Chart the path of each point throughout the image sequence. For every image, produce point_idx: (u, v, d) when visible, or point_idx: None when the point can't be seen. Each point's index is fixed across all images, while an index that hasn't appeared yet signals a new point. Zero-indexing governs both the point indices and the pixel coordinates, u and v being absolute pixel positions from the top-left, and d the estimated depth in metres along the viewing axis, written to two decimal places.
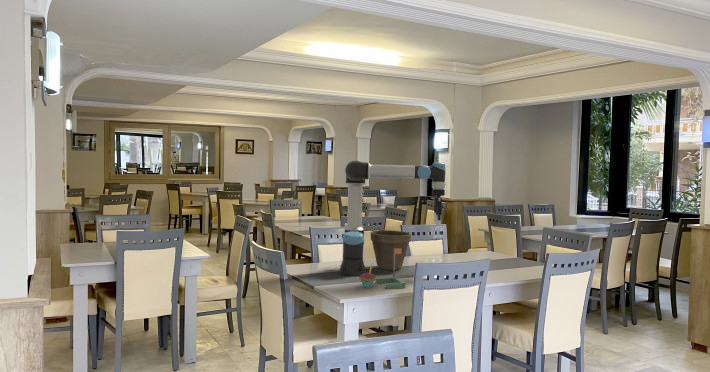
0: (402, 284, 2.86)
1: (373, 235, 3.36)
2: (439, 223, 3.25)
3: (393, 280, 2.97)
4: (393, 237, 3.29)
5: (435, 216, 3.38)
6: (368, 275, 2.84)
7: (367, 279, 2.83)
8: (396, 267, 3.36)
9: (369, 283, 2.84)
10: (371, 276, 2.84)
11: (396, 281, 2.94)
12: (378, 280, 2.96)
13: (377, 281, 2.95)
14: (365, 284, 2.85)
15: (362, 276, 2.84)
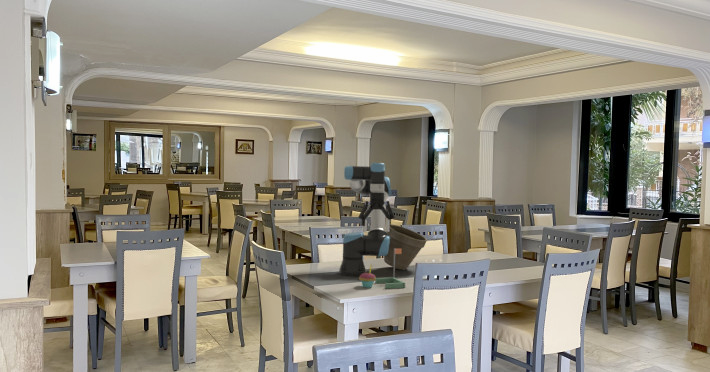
0: (402, 284, 2.86)
1: (398, 234, 3.26)
2: (364, 229, 2.94)
3: (393, 280, 2.97)
4: (419, 242, 3.27)
5: (386, 223, 3.01)
6: (368, 275, 2.84)
7: (367, 279, 2.83)
8: (406, 267, 3.36)
9: (369, 283, 2.84)
10: (371, 276, 2.84)
11: (396, 281, 2.94)
12: (378, 280, 2.96)
13: (377, 281, 2.95)
14: (365, 284, 2.85)
15: (362, 276, 2.84)
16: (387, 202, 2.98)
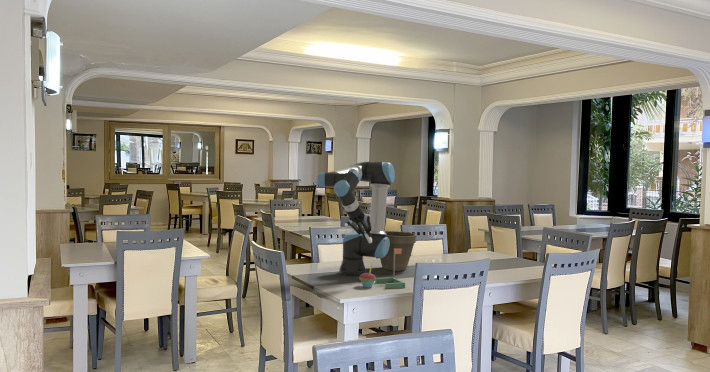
0: (402, 284, 2.86)
1: None
2: None
3: (393, 280, 2.97)
4: (409, 237, 3.29)
5: None
6: (368, 275, 2.84)
7: (367, 279, 2.83)
8: (405, 267, 3.36)
9: (369, 283, 2.84)
10: (371, 276, 2.84)
11: (396, 281, 2.94)
12: (378, 280, 2.96)
13: (377, 281, 2.95)
14: (365, 284, 2.85)
15: (362, 276, 2.84)
16: (367, 217, 2.83)
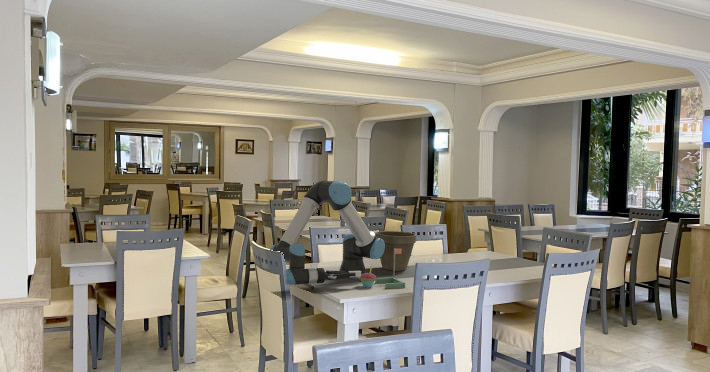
0: (402, 284, 2.86)
1: (387, 237, 3.28)
2: None
3: (393, 280, 2.97)
4: (409, 237, 3.29)
5: None
6: (368, 275, 2.84)
7: (367, 279, 2.83)
8: (405, 267, 3.36)
9: (369, 283, 2.84)
10: (371, 276, 2.84)
11: (396, 281, 2.94)
12: (378, 280, 2.96)
13: (377, 281, 2.95)
14: (365, 284, 2.85)
15: (362, 276, 2.84)
16: (333, 279, 2.75)
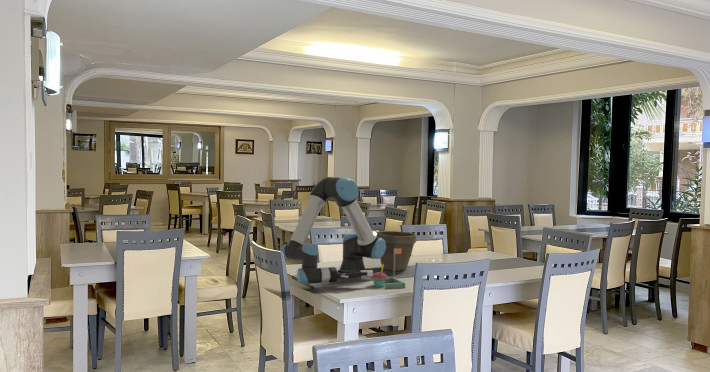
0: (402, 284, 2.86)
1: (387, 237, 3.28)
2: None
3: (393, 280, 2.97)
4: (409, 238, 3.29)
5: None
6: (380, 274, 2.86)
7: (379, 278, 2.85)
8: (405, 267, 3.36)
9: (381, 282, 2.86)
10: (383, 275, 2.86)
11: (396, 281, 2.94)
12: None
13: None
14: (377, 283, 2.87)
15: (374, 275, 2.87)
16: (345, 278, 2.77)
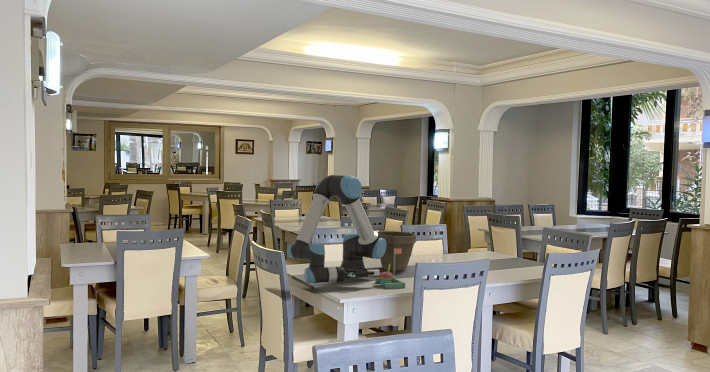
0: (402, 284, 2.86)
1: (387, 237, 3.28)
2: None
3: (393, 280, 2.97)
4: (409, 237, 3.29)
5: None
6: (386, 274, 2.88)
7: (385, 278, 2.86)
8: (405, 267, 3.36)
9: (387, 282, 2.88)
10: (389, 275, 2.88)
11: (396, 281, 2.94)
12: (378, 280, 2.96)
13: (377, 281, 2.95)
14: (383, 283, 2.88)
15: (381, 275, 2.88)
16: None
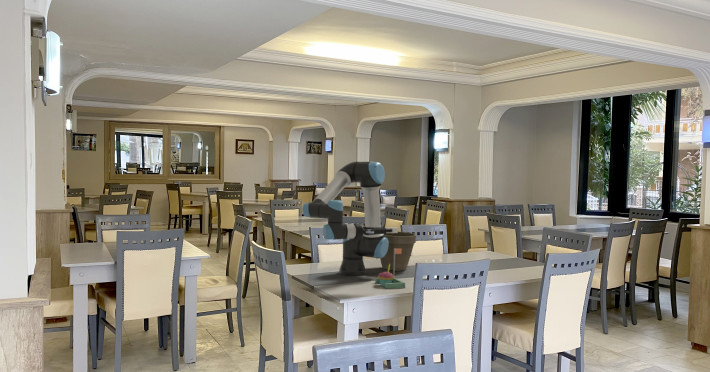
0: (402, 284, 2.86)
1: (387, 237, 3.28)
2: None
3: (393, 280, 2.97)
4: (409, 237, 3.29)
5: None
6: (386, 274, 2.88)
7: (385, 278, 2.86)
8: (405, 267, 3.36)
9: (387, 282, 2.88)
10: (389, 275, 2.88)
11: (396, 281, 2.94)
12: (378, 280, 2.96)
13: (377, 281, 2.95)
14: (383, 283, 2.88)
15: (380, 275, 2.88)
16: (370, 234, 2.79)
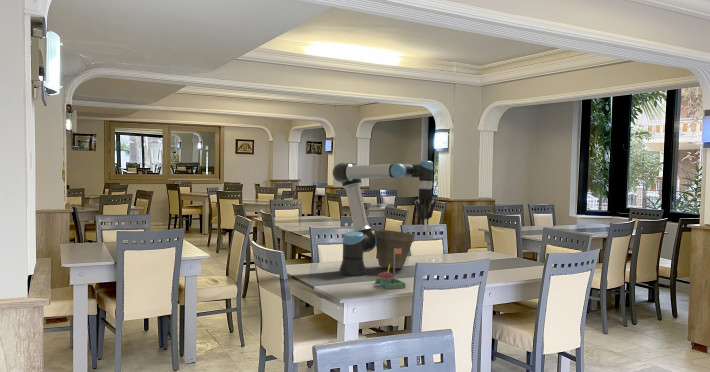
0: (402, 284, 2.86)
1: (380, 232, 3.34)
2: (423, 228, 3.13)
3: (393, 280, 2.97)
4: (401, 235, 3.30)
5: None
6: (386, 274, 2.88)
7: (385, 278, 2.86)
8: (400, 266, 3.35)
9: (387, 282, 2.88)
10: (389, 275, 2.88)
11: (396, 281, 2.94)
12: (378, 280, 2.96)
13: (377, 281, 2.95)
14: (383, 283, 2.88)
15: (380, 275, 2.88)
16: (434, 201, 3.14)
